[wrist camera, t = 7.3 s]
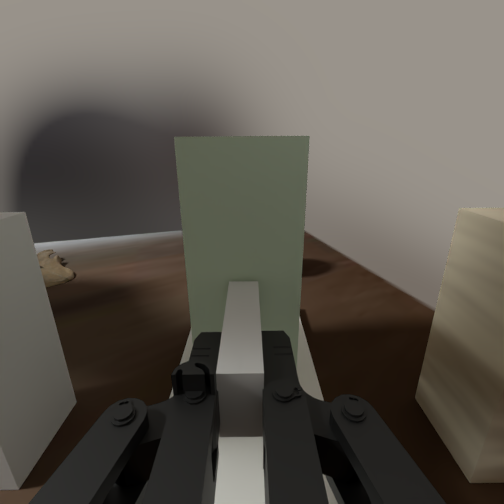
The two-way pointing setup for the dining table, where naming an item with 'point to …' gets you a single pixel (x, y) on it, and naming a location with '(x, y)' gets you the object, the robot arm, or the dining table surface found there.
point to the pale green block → (243, 225)
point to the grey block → (27, 357)
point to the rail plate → (255, 443)
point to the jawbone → (53, 269)
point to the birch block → (469, 348)
